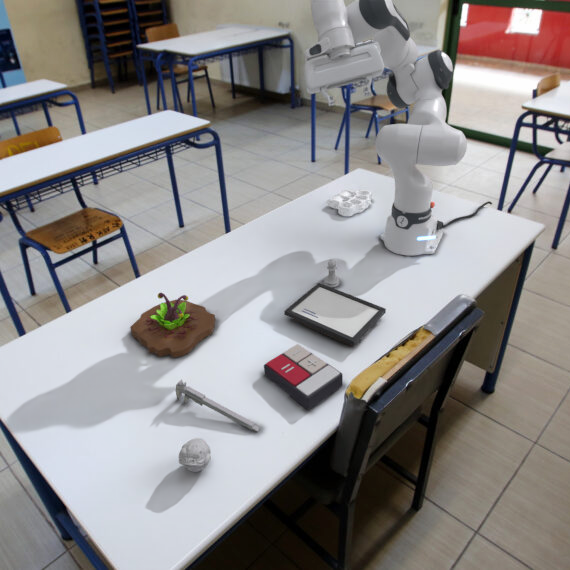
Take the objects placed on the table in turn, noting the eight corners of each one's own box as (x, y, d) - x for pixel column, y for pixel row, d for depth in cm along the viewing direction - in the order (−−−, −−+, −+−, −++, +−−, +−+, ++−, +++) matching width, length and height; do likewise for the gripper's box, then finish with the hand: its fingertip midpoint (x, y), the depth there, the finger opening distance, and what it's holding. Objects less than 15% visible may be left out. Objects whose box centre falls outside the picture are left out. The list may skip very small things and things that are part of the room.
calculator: (297, 341, 121) (343, 371, 111) (298, 354, 123) (343, 385, 113) (262, 362, 115) (307, 396, 105) (264, 376, 117) (308, 410, 108)
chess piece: (341, 286, 146) (343, 262, 142) (326, 289, 145) (327, 265, 141) (335, 277, 150) (336, 254, 145) (321, 280, 149) (321, 257, 144)
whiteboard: (318, 292, 144) (318, 282, 142) (384, 318, 133) (386, 308, 131) (284, 320, 134) (284, 310, 132) (353, 352, 123) (354, 341, 121)
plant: (174, 298, 143) (168, 265, 137) (226, 322, 134) (223, 288, 127) (119, 336, 130) (109, 302, 123) (172, 366, 120) (165, 330, 114)
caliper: (177, 400, 111) (173, 380, 108) (180, 397, 112) (176, 377, 108) (257, 432, 103) (255, 412, 100) (260, 428, 104) (258, 408, 101)
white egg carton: (346, 193, 199) (379, 202, 192) (322, 209, 188) (356, 220, 180) (347, 185, 197) (380, 193, 190) (322, 201, 186) (356, 211, 178)
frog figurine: (176, 481, 95) (170, 457, 91) (187, 450, 100) (183, 427, 96) (207, 485, 94) (202, 462, 90) (217, 454, 99) (213, 430, 95)
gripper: (376, 43, 131) (388, 94, 130) (300, 64, 133) (311, 114, 132) (378, 31, 125) (391, 84, 124) (298, 52, 126) (311, 105, 126)
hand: (349, 100), depth 128 cm, fingers open, 8 cm apart
